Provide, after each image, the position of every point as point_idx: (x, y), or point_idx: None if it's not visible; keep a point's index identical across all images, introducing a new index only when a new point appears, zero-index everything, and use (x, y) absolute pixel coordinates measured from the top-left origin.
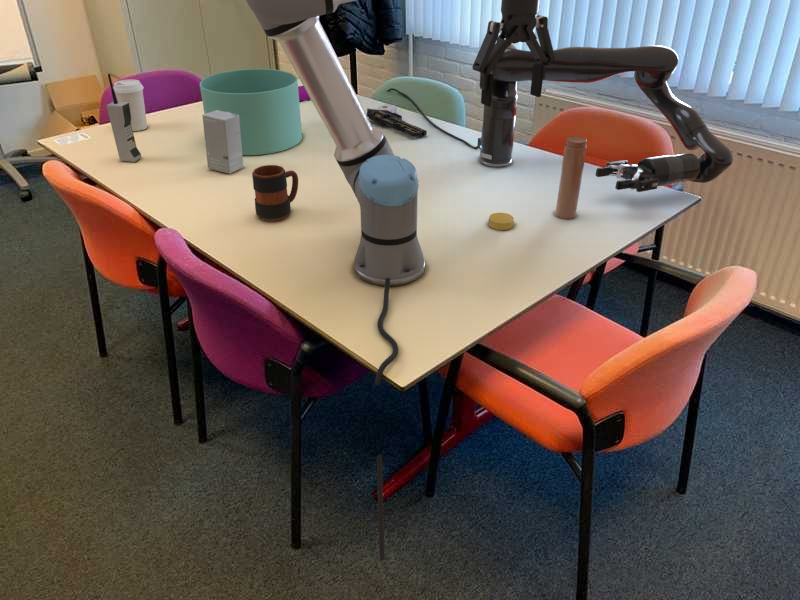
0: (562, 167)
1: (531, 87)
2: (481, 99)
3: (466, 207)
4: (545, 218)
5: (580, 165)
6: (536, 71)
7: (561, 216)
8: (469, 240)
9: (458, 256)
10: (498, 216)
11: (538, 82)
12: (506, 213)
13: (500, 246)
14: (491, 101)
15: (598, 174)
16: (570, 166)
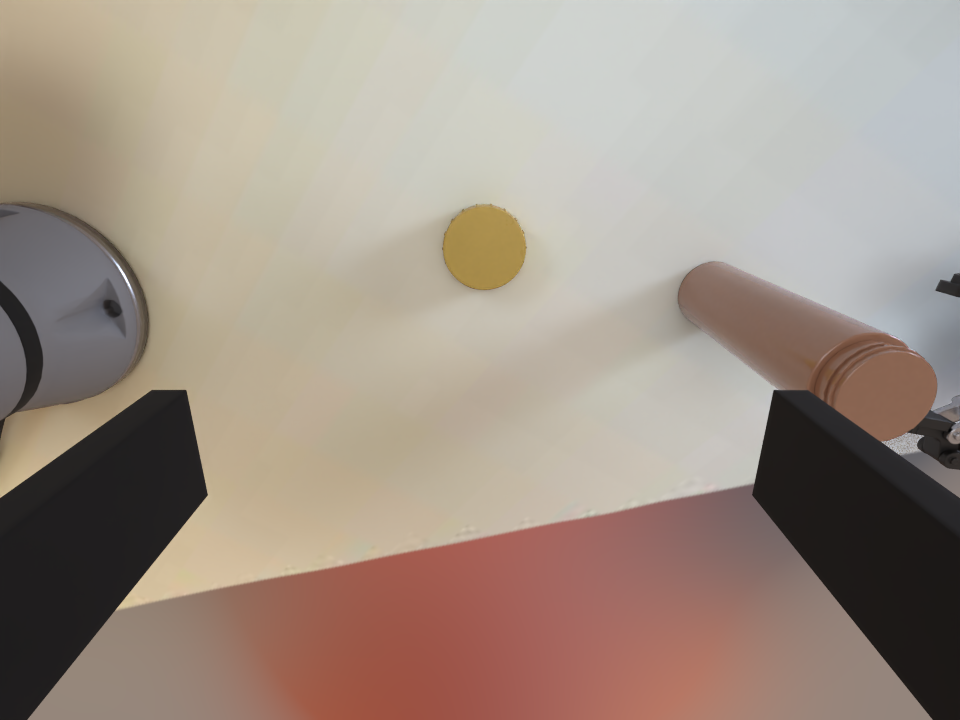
0: (762, 329)
1: (812, 430)
2: (132, 410)
3: (463, 56)
4: (638, 281)
5: None
6: (945, 625)
7: (681, 308)
8: (337, 280)
9: (260, 342)
10: (482, 235)
11: (834, 575)
12: (520, 230)
13: (399, 354)
14: (187, 517)
15: (946, 292)
16: (766, 376)
